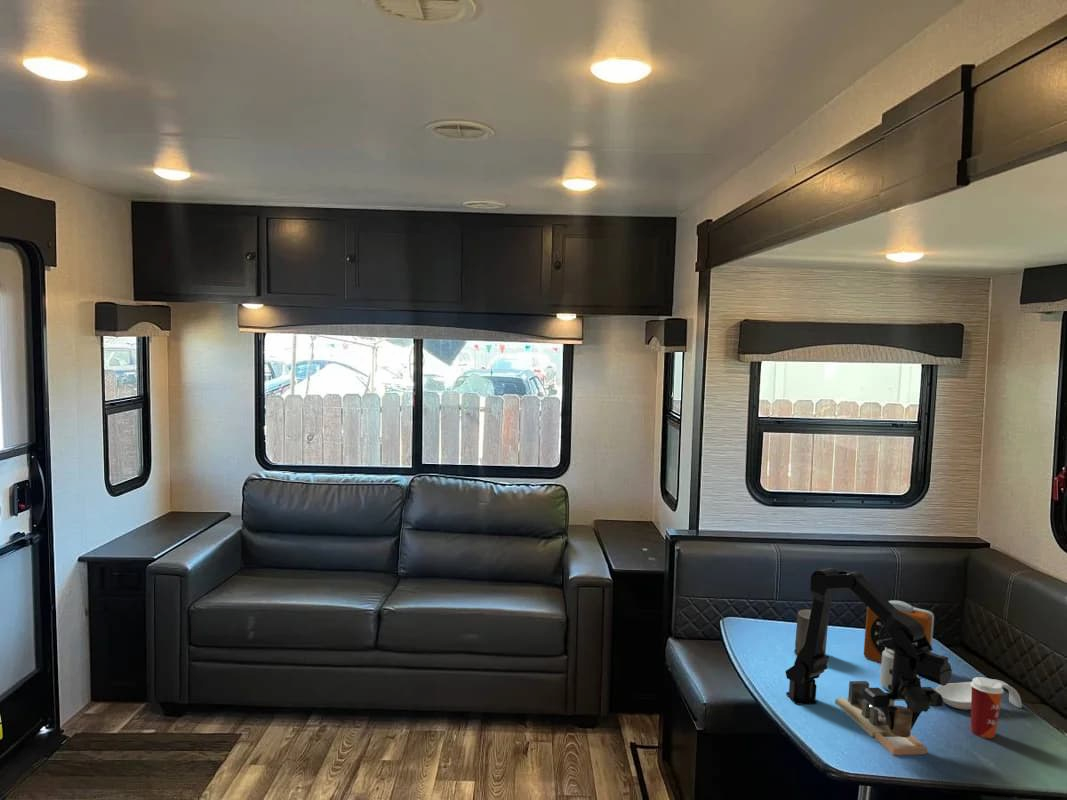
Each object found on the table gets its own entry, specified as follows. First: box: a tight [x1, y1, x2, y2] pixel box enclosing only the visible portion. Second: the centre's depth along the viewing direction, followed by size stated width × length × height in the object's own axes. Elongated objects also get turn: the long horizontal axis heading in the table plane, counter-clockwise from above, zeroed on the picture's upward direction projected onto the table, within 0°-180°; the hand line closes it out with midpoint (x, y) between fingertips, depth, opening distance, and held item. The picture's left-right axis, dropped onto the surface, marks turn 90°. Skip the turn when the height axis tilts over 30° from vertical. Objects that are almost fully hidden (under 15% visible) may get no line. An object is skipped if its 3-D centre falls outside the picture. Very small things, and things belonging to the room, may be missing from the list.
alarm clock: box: [863, 599, 935, 664], centre depth 252 cm, size 18×9×21 cm, turn 49°
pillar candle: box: [793, 609, 830, 656], centre depth 256 cm, size 10×10×15 cm
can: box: [879, 647, 894, 692], centre depth 233 cm, size 8×8×12 cm
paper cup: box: [970, 676, 1005, 739], centre depth 208 cm, size 8×8×14 cm
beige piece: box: [834, 697, 897, 738], centre depth 214 cm, size 10×19×5 cm, turn 7°
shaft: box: [847, 680, 887, 724], centre depth 214 cm, size 5×14×6 cm, turn 7°
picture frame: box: [875, 733, 928, 756], centre depth 199 cm, size 9×8×2 cm
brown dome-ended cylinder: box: [890, 705, 913, 737], centre depth 200 cm, size 5×5×6 cm
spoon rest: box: [935, 678, 1023, 711], centre depth 225 cm, size 24×12×7 cm, turn 95°
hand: (900, 729), depth 200 cm, fingers closed on brown dome-ended cylinder, 5 cm apart
